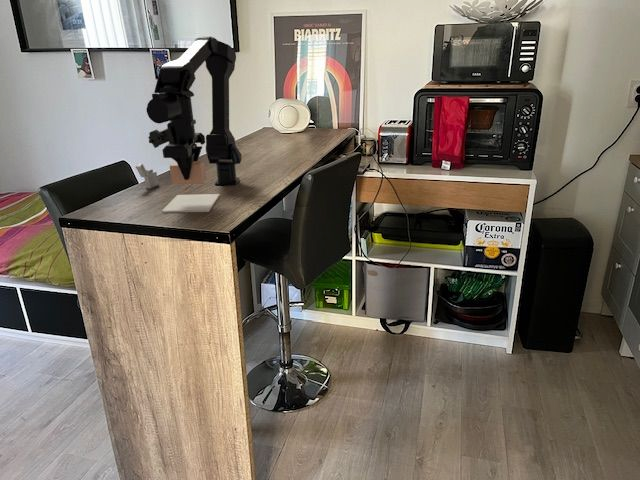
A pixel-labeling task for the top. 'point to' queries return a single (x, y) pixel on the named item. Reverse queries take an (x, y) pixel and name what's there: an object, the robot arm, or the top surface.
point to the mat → (191, 203)
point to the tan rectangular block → (195, 176)
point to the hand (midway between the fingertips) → (189, 177)
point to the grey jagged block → (148, 176)
